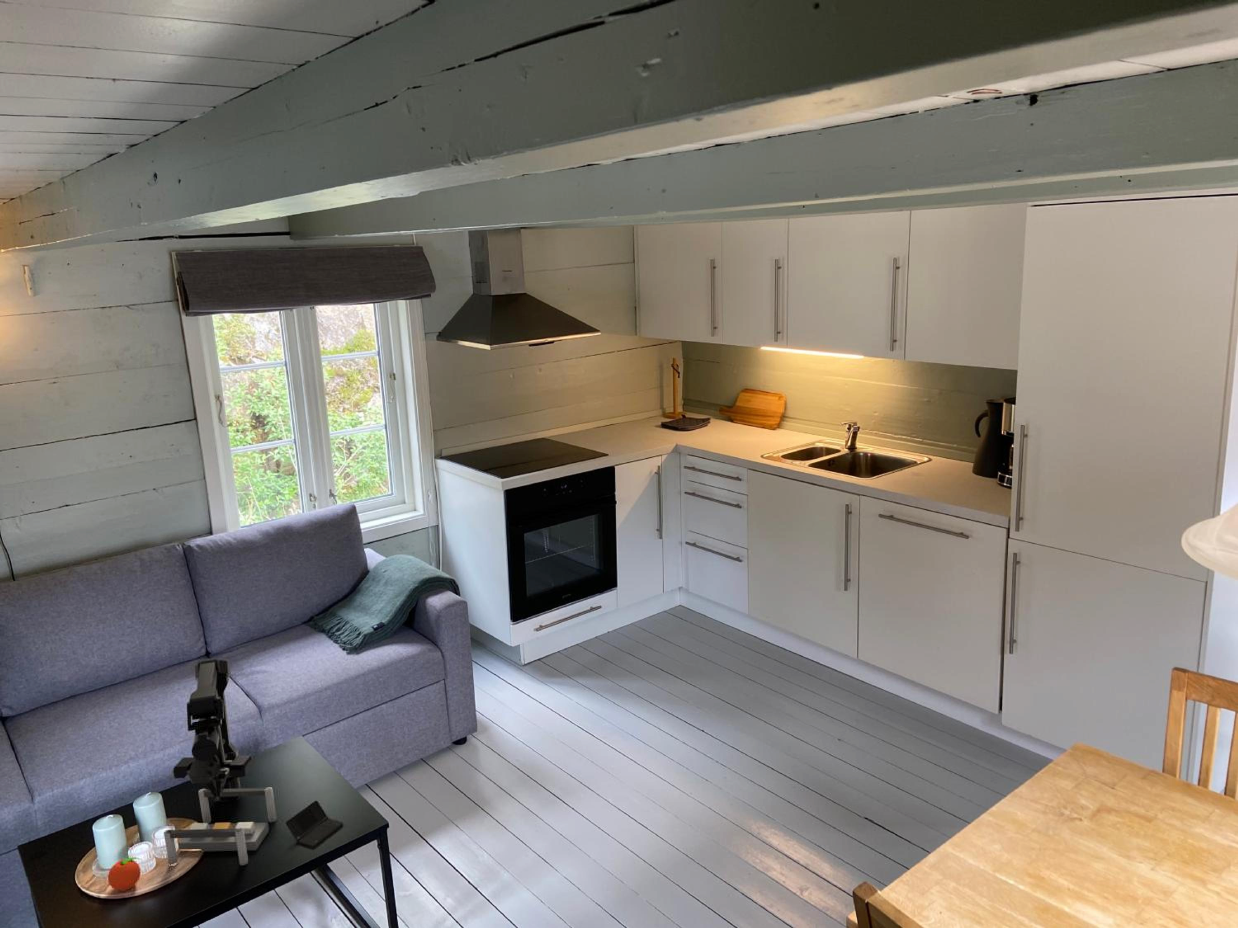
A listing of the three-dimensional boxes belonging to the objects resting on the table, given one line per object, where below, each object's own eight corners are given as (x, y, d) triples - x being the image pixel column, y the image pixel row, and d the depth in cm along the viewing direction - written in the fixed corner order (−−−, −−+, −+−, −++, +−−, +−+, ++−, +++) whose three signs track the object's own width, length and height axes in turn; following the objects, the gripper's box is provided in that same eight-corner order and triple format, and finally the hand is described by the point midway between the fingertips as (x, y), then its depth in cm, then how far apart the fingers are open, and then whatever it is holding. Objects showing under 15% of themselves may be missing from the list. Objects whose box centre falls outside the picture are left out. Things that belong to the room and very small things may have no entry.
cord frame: (205, 819, 247) (200, 788, 245) (277, 817, 246) (273, 786, 244) (167, 866, 228) (162, 833, 226) (246, 864, 227) (241, 832, 225)
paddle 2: (240, 828, 237) (238, 822, 236) (255, 828, 237) (253, 821, 236) (237, 834, 236) (235, 828, 234) (252, 834, 235) (250, 828, 234)
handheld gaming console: (320, 843, 232) (299, 810, 233) (302, 857, 234) (281, 824, 235) (347, 823, 242) (326, 791, 244) (329, 836, 245) (309, 804, 246)
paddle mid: (217, 829, 238) (215, 822, 236) (232, 828, 237) (230, 822, 236) (214, 835, 236) (212, 828, 235) (229, 835, 236) (227, 828, 234)
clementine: (137, 871, 226) (133, 846, 225) (152, 881, 222) (147, 855, 221) (104, 890, 220) (100, 864, 218) (119, 900, 216) (114, 874, 214)
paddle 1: (195, 829, 238) (192, 823, 237) (210, 829, 238) (207, 822, 236) (191, 835, 236) (189, 829, 235) (207, 835, 236) (204, 829, 235)
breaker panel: (194, 832, 241) (193, 824, 241) (268, 830, 241) (267, 822, 240) (179, 851, 233) (178, 842, 233) (256, 849, 233) (255, 841, 232)
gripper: (157, 759, 223) (166, 815, 227) (231, 757, 223) (240, 813, 226) (179, 736, 234) (188, 790, 238) (250, 734, 234) (258, 788, 237)
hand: (218, 796), depth 234 cm, fingers closed
